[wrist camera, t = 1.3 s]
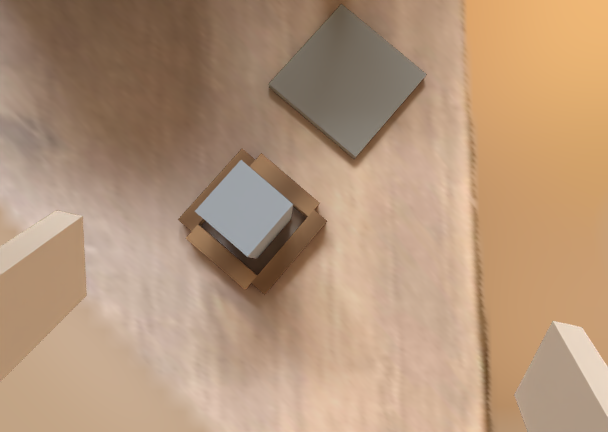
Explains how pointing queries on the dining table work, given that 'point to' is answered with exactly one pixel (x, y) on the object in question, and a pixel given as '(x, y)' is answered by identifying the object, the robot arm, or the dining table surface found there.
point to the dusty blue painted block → (246, 210)
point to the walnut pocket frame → (287, 251)
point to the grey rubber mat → (347, 81)
